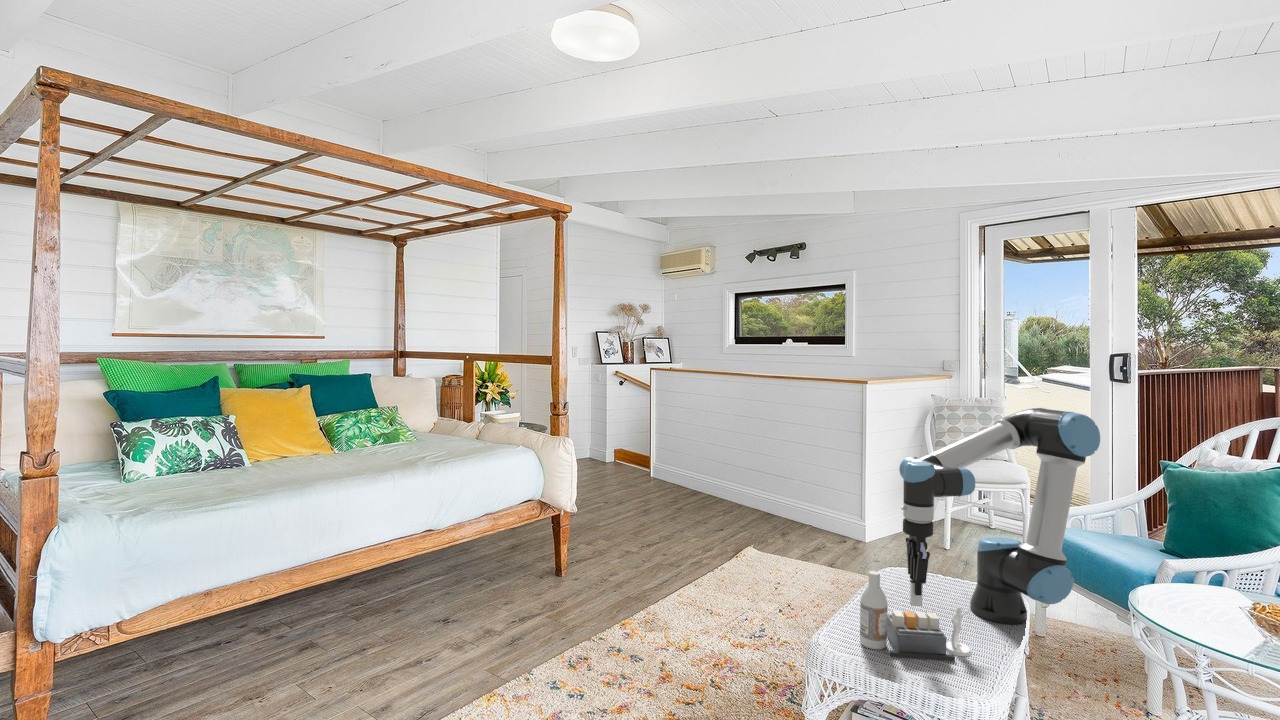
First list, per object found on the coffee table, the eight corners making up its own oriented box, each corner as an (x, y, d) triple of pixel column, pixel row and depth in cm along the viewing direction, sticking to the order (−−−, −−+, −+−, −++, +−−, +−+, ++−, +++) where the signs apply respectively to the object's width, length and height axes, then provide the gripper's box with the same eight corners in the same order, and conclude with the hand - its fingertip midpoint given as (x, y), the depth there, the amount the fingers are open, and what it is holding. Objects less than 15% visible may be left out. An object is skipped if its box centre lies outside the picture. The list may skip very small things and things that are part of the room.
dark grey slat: (953, 659, 161) (953, 654, 161) (954, 661, 159) (954, 656, 159) (889, 654, 163) (889, 650, 163) (891, 657, 161) (891, 652, 161)
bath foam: (876, 652, 164) (877, 579, 163) (854, 642, 169) (855, 571, 169) (891, 645, 167) (893, 574, 167) (870, 635, 173) (871, 566, 172)
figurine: (964, 659, 161) (965, 614, 160) (937, 648, 166) (938, 605, 166) (976, 651, 165) (978, 607, 164) (950, 640, 171) (951, 598, 170)
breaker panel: (930, 637, 172) (930, 614, 172) (945, 659, 160) (946, 635, 160) (886, 634, 174) (886, 611, 173) (898, 656, 162) (898, 632, 162)
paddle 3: (923, 622, 168) (923, 612, 168) (927, 628, 165) (927, 617, 165) (914, 622, 168) (914, 611, 168) (918, 628, 165) (919, 617, 165)
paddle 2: (911, 622, 169) (911, 611, 168) (915, 628, 165) (915, 617, 165) (903, 621, 169) (903, 611, 169) (907, 627, 165) (907, 616, 165)
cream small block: (900, 621, 169) (900, 610, 169) (904, 627, 165) (904, 616, 165) (892, 620, 169) (892, 610, 169) (895, 626, 166) (895, 616, 166)
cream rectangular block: (934, 623, 168) (934, 612, 168) (939, 629, 164) (939, 618, 164) (926, 623, 168) (926, 612, 168) (930, 629, 165) (930, 618, 164)
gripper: (896, 511, 172) (895, 594, 173) (910, 525, 159) (908, 614, 160) (924, 513, 171) (922, 595, 172) (941, 527, 158) (938, 616, 159)
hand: (916, 604), depth 166 cm, fingers closed
